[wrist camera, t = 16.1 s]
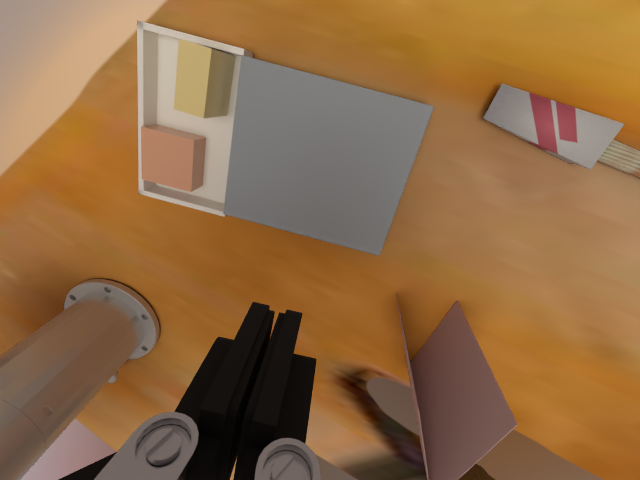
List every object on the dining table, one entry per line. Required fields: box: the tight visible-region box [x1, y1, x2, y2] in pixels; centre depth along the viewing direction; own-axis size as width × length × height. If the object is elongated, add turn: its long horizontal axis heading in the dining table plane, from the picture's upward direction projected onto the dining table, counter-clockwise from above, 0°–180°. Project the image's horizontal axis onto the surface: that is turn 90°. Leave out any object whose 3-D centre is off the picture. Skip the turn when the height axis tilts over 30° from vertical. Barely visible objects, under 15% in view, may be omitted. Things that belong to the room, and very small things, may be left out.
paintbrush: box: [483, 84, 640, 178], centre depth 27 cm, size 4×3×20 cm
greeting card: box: [396, 293, 517, 480], centre depth 31 cm, size 11×7×15 cm, turn 158°
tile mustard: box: [174, 39, 236, 118], centre depth 27 cm, size 5×5×2 cm
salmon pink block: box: [141, 125, 206, 192], centre depth 31 cm, size 5×5×2 cm
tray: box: [137, 21, 254, 217], centre depth 30 cm, size 15×9×2 cm, turn 166°
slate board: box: [223, 55, 434, 256], centre depth 30 cm, size 14×16×3 cm
